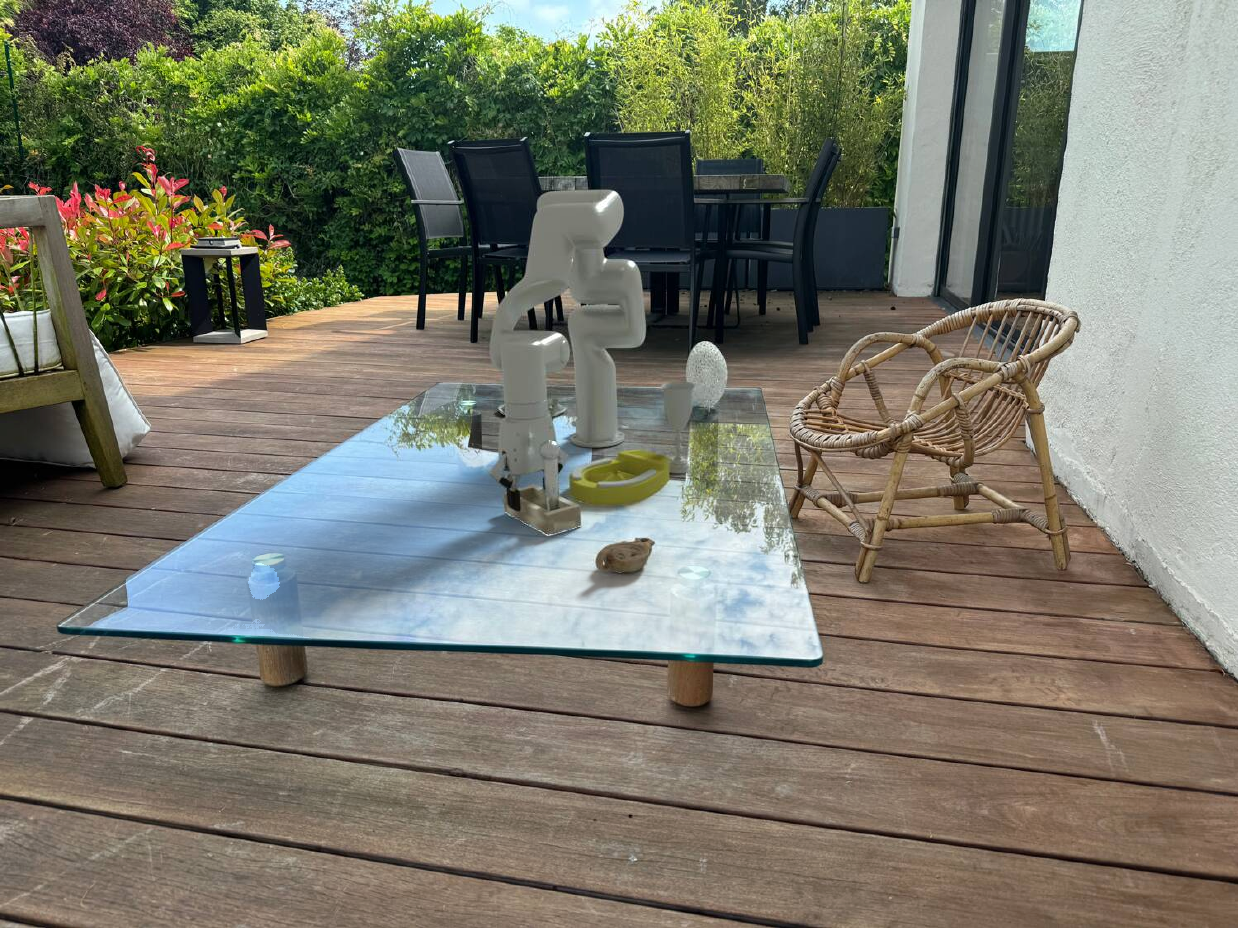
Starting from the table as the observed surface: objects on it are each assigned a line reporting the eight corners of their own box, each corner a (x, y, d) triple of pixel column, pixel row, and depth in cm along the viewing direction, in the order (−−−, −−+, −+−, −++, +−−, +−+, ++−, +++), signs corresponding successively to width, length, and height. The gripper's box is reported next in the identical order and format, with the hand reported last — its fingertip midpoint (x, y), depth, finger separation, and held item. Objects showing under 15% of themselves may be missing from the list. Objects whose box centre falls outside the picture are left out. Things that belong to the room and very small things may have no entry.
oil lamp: (633, 549, 140) (632, 520, 138) (669, 560, 135) (669, 531, 134) (579, 576, 131) (577, 547, 129) (616, 590, 126) (615, 559, 124)
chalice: (692, 475, 174) (692, 389, 168) (660, 474, 175) (658, 389, 170) (696, 464, 181) (696, 381, 175) (665, 463, 182) (664, 381, 177)
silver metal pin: (540, 525, 150) (534, 440, 146) (557, 520, 153) (552, 436, 148) (551, 531, 148) (545, 444, 143) (568, 526, 150) (563, 440, 145)
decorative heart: (683, 400, 235) (683, 339, 229) (722, 399, 235) (722, 337, 229) (689, 417, 218) (689, 351, 212) (730, 416, 218) (731, 350, 212)
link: (504, 513, 157) (503, 492, 156) (536, 504, 161) (534, 484, 160) (548, 536, 146) (547, 515, 144) (581, 527, 149) (580, 505, 148)
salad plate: (582, 417, 222) (581, 400, 221) (518, 428, 214) (517, 410, 213) (552, 403, 238) (551, 386, 237) (492, 411, 231) (490, 395, 229)
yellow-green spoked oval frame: (684, 484, 170) (684, 460, 169) (613, 513, 156) (612, 488, 154) (624, 468, 181) (623, 445, 179) (552, 494, 167) (551, 470, 165)
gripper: (556, 397, 157) (560, 488, 163) (472, 414, 147) (480, 510, 153) (579, 404, 151) (583, 498, 157) (493, 422, 141) (501, 522, 147)
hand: (532, 503), depth 155 cm, fingers closed on link, 6 cm apart
